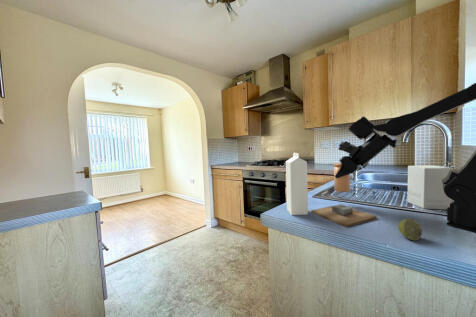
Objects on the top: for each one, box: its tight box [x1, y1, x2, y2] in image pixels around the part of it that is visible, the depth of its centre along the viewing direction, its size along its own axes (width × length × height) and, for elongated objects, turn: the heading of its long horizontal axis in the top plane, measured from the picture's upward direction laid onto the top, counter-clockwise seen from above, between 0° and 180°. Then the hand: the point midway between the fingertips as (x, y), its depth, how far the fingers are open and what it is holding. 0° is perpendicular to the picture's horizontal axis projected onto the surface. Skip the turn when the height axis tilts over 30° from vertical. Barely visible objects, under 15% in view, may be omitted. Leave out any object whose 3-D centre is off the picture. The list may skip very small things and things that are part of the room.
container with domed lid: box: [333, 162, 351, 193], centre depth 75 cm, size 6×6×11 cm
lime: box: [398, 218, 423, 241], centre depth 48 cm, size 4×5×5 cm
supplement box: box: [406, 164, 454, 210], centre depth 71 cm, size 9×9×15 cm
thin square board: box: [310, 203, 378, 228], centre depth 65 cm, size 14×14×3 cm
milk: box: [285, 152, 309, 216], centre depth 69 cm, size 6×6×22 cm
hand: (338, 176), depth 76 cm, fingers closed on container with domed lid, 5 cm apart
